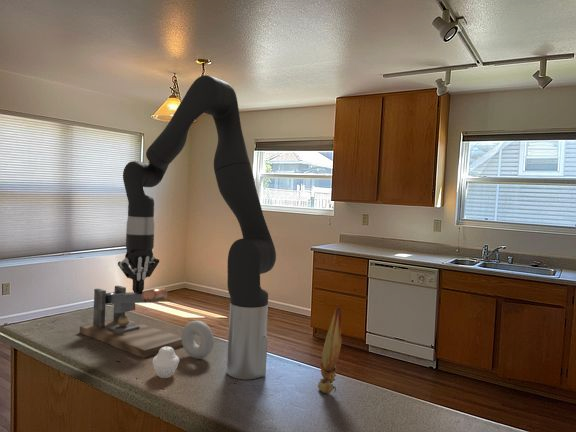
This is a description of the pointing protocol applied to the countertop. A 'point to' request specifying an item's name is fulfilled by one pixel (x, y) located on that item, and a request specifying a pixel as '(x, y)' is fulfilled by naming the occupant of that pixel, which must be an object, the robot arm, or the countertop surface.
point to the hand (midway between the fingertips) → (138, 292)
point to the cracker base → (126, 330)
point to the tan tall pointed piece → (331, 353)
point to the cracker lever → (134, 299)
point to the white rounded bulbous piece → (165, 362)
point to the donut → (204, 335)
